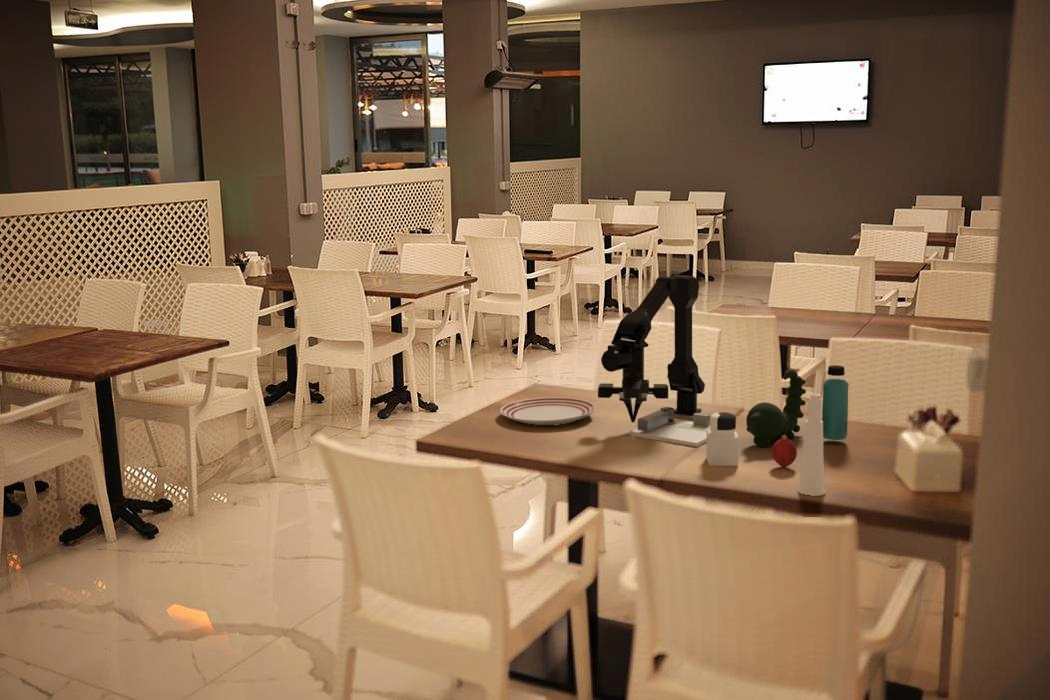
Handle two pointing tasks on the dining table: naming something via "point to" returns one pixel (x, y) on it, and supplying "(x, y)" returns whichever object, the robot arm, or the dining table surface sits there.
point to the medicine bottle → (722, 440)
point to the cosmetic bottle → (813, 451)
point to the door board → (680, 431)
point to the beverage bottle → (835, 405)
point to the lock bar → (656, 419)
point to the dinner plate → (548, 410)
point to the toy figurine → (777, 414)
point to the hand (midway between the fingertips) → (633, 421)
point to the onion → (784, 452)
